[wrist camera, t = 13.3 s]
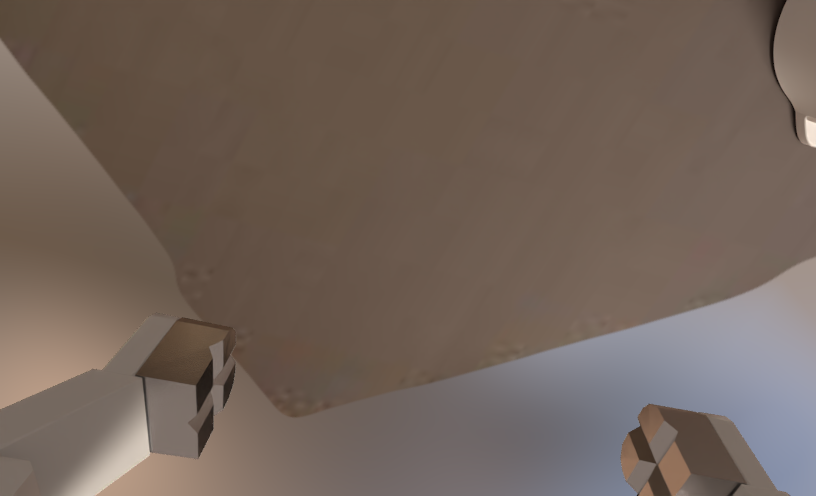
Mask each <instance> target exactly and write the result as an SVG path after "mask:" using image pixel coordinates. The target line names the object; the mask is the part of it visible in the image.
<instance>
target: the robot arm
mask: <svg viewBox="0 0 816 496" xmlns="http://www.w3.org/2000/svg"><path fill="white" fill-rule="evenodd" d="M773 55H774V67H775V71H776V75H777V78H778V81H779V84H780V86H781V88H782V89H783V91H784V93H785V94H786V96H787V97H788V99H789V100H790V101H791V103H792V105H793V107H794V109H795V112H796V129H797V135H798V138H799V140H800V141H801V142H802V143H803V144H805V145H809V146H812V147H816V0H787V1H786V3H785V5H784V8H783V10H782V13H781V15H780V18H779V21H778V25H777V29H776V34H775V39H774V51H773ZM235 345H236V331H235V329H234V328H232V327H227V326H222V325H217V324H212V323H207V322H203V321H197V320H193V319H188V318H180V317H176V316H171V315H166V314H161V313H154V314H152V315H150V316H148V317H147V318H146V320H145V321H144V322H143V323H142V324H141V325H140V327H139V328H138V329H137V330H136V331H135V332H134V333H133V335H132V336H131V337H130V338H129V339H128V340H127V342H126V343H125V344H124V345H123V346H122V347H121V349H120V350H119V351H118V352H117V353H116V355H115V356H114V357H113V358H112V359H111V360H110V361H109V362H108V364H107V365H106V366H105V367H104V368H103V369H102V370H97V369H92V370H90V371H88V372H85V373H83V374H81V375H78V376H76V377H74V378H71V379H69V380H67V381H65V382H62V383H60V384H58V385H55V386H53V387H51V388H49V389H47V390H44V391H42V392H40V393H37V394H35V395H32V396H30V397H28V398H26V399H23V400H21V401H19V402H16V403H14V404H12V405H10V406H7V407H5V408H3V409H0V496H95V495H96V494H98V493H99V492H100V491H102V490H103V489H105V488H106V487H107V486H109V485H110V484H111V483H113V482H114V481H115V480H117V479H118V478H120V477H121V476H122V475H124V474H125V473H126V472H128V471H129V470H130V469H132V468H133V467H135V466H136V465H137V464H138V463H140V462H141V461H143V460H144V459H145V458H147V457H148V456H149V455H150V452H152V453H159V454H166V455H174V456H180V457H187V458H194V459H198V458H199V457H200V455H201V453H202V451H203V449H204V447H205V445H206V443H207V441H208V439H209V437H210V435H211V433H212V431H213V429H214V427H213V426H214V415H216V414H218V413H219V412H221V411H223V409H224V407H225V405H226V403H227V401H228V399H229V396H230V393H231V390H232V387H233V383H234V377H235V370H236V362H235V360H234V359H233V358H232V356H231V353H232V351H233V349H234V347H235ZM638 420H639V423H640V427H638V428H636V429H634V430H632V431H631V432H629V433H628V434H627V436H626V438H625V440H624V442H623V444H622V450H621V465H622V471H623V474H624V476H625V479H626V482H627V483H628V484H629V485H630V486H631V487H632V488H633V489H634V490H635V491H636V492H637V493H638V494H637V496H790V495H789V494H787V493H786V492H782V491H778V490H777V489H776V487H775V486H774V484H773V483H772V481H771V480H770V478H769V477H768V475H767V474H766V472H765V471H764V469H763V467H762V466H761V465H760V463H759V461H758V460H757V458H756V457H755V455H754V454H753V452H752V451H751V449H750V448H749V446H748V445H747V443H746V442H745V440H744V438H743V437H742V435H741V434H740V432H739V431H738V429H737V428H736V426H735V425H734V423H733V422H732V421H731V420H729V419H728V418H727V417H725V416H719V415H714V414H708V413H701V412H699V413H697V412H693V411H688V410H682V409H676V408H670V407H665V406H659V405H653V404H648V405H647V406H646V407H644V408H643V409H642V411H641V412H640V414H639V415H638Z"/></svg>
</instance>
